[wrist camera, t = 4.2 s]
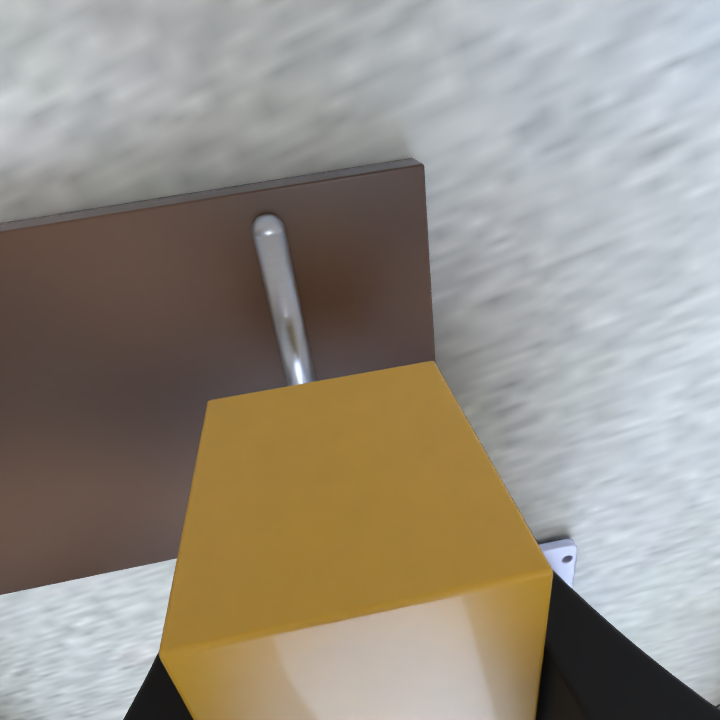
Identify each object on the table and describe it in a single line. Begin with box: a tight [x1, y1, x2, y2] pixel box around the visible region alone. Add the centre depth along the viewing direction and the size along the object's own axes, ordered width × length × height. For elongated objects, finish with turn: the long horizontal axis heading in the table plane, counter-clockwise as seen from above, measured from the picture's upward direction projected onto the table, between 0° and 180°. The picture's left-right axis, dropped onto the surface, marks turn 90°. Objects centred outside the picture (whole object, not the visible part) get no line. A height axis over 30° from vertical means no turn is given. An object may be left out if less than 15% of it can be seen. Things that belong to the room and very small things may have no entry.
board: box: [0, 158, 435, 595], centre depth 17 cm, size 13×20×1 cm, turn 97°
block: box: [159, 361, 553, 720], centre depth 10 cm, size 7×4×5 cm, turn 7°
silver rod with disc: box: [252, 214, 316, 386], centre depth 16 cm, size 12×4×1 cm, turn 7°
